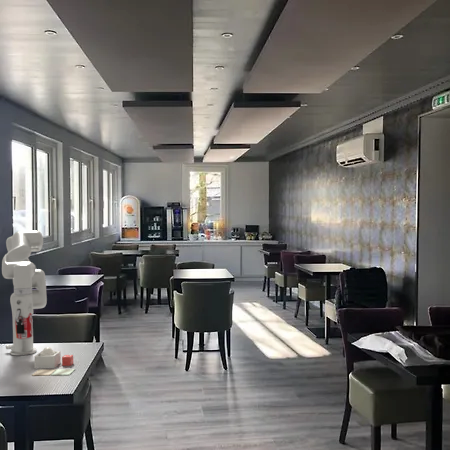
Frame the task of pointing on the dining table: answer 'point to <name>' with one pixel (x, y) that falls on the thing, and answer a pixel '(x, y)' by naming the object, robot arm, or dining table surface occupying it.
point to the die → (67, 360)
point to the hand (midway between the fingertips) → (24, 331)
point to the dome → (47, 352)
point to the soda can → (25, 328)
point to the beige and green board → (53, 372)
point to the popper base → (47, 360)
